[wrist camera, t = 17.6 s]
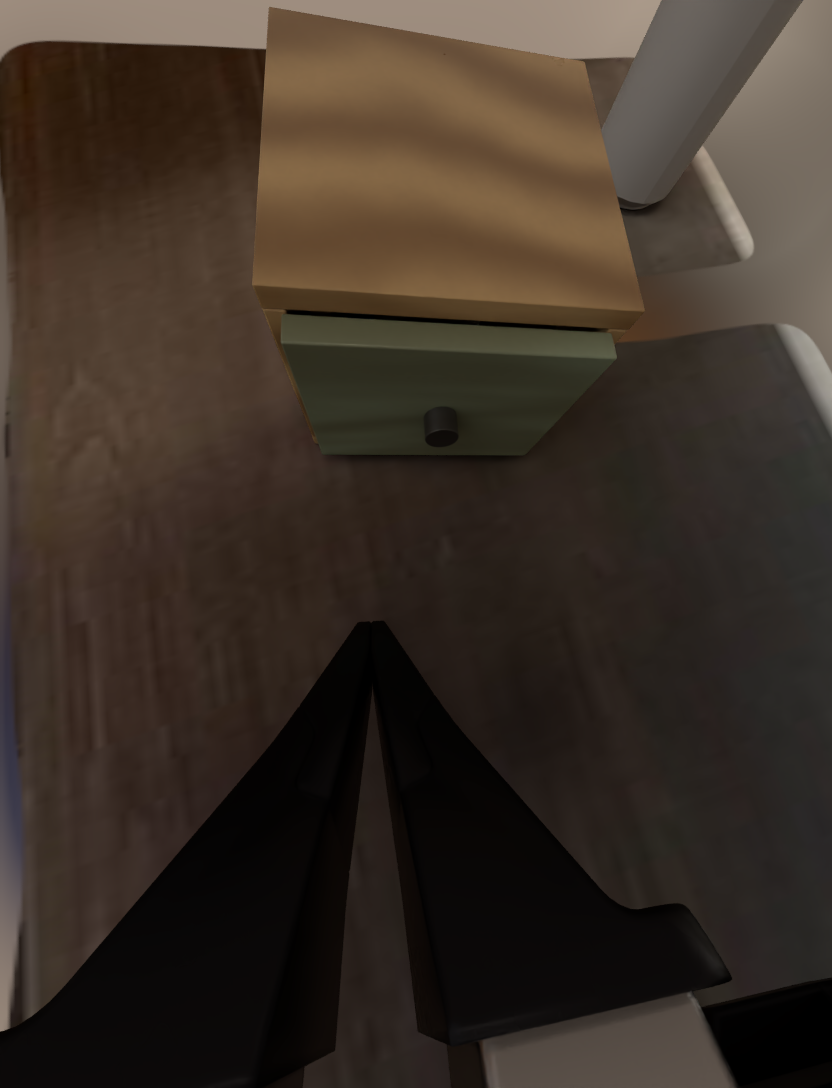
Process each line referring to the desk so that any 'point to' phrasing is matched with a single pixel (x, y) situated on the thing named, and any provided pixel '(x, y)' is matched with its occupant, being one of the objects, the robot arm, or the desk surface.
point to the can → (684, 88)
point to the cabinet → (433, 183)
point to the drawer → (437, 382)
